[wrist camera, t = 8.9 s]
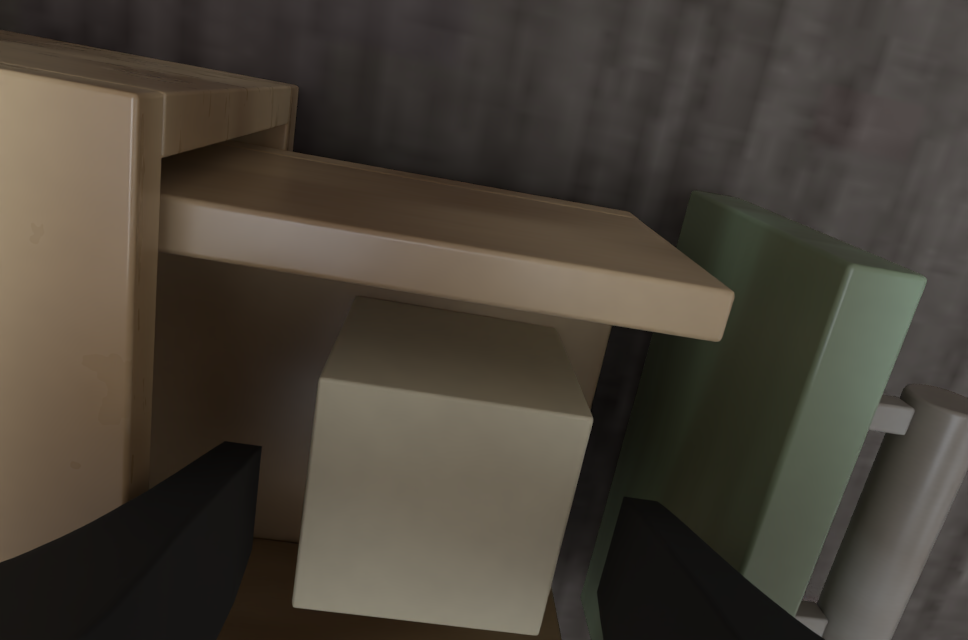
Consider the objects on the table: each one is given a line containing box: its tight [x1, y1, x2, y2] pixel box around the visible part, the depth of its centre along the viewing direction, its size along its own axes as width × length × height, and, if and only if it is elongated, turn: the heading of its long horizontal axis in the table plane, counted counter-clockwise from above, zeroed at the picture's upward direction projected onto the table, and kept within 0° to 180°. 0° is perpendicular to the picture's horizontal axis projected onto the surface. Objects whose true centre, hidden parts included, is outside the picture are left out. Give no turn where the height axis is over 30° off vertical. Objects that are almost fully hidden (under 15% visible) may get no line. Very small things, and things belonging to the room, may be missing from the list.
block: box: [292, 296, 593, 636], centre depth 14 cm, size 4×4×4 cm
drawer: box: [149, 140, 968, 640], centre depth 14 cm, size 18×11×7 cm, turn 80°
